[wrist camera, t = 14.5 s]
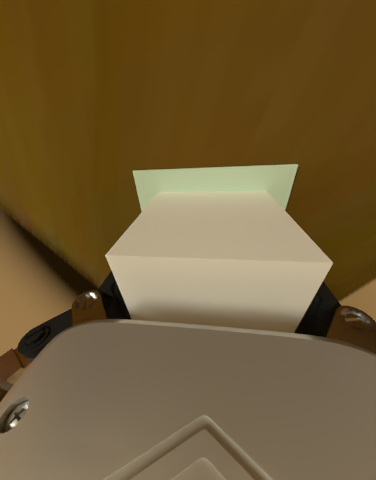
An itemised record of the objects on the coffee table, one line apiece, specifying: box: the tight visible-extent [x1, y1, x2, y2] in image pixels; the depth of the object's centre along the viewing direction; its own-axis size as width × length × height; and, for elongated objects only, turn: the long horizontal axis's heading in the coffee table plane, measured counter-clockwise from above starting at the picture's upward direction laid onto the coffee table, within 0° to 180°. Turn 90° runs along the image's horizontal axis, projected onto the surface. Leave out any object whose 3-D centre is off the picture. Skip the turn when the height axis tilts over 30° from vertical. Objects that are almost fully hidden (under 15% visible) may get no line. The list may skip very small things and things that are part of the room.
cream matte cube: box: [105, 191, 333, 333], centre depth 11 cm, size 8×8×8 cm
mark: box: [133, 164, 298, 212], centre depth 14 cm, size 11×11×1 cm
